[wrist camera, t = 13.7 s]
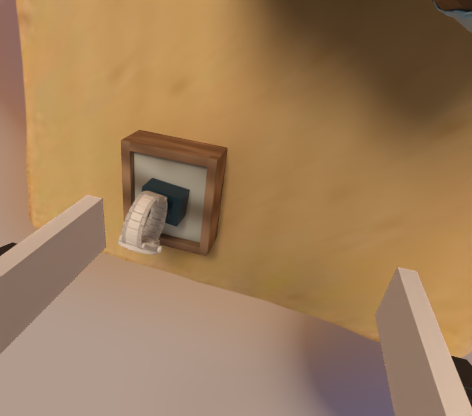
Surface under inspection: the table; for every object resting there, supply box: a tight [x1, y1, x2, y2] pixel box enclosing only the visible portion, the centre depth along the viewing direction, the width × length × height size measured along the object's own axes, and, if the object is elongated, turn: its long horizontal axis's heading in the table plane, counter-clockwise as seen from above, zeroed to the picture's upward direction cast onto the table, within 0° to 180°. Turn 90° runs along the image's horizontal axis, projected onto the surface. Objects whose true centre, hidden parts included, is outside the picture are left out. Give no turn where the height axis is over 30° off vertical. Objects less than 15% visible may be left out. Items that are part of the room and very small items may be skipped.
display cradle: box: [121, 130, 227, 256], centre depth 49 cm, size 15×13×5 cm
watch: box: [118, 178, 190, 255], centre depth 43 cm, size 6×8×11 cm
